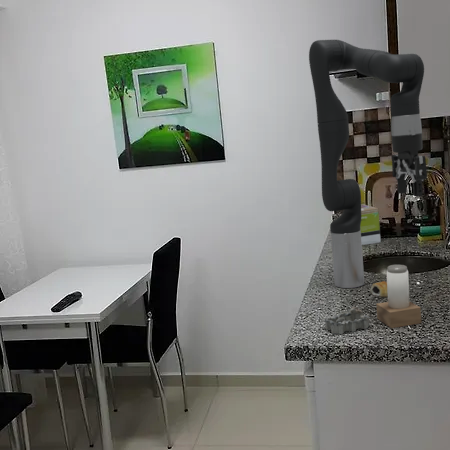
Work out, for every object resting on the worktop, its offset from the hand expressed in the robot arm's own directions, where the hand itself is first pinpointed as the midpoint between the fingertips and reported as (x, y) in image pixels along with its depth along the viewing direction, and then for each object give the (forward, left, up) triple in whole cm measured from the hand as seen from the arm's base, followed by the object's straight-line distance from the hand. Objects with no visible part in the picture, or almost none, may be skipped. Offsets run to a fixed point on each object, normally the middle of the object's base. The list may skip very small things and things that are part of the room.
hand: (410, 194), depth 155 cm
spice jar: (+10, -10, -26) cm, 30 cm away
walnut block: (+10, -10, -30) cm, 33 cm away
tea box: (-88, +22, -30) cm, 96 cm away
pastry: (-14, -2, -31) cm, 34 cm away
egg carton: (+9, -23, -31) cm, 39 cm away
